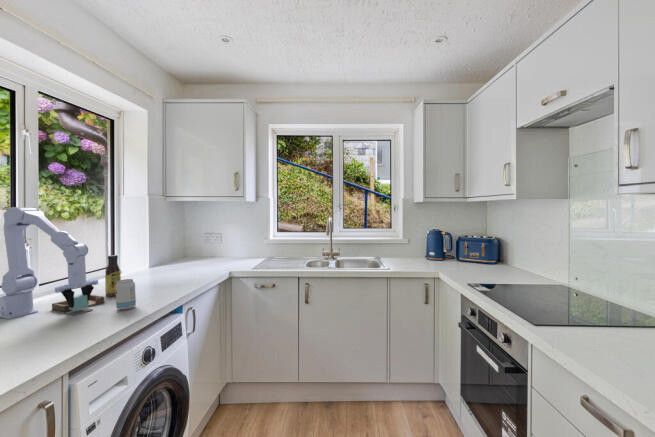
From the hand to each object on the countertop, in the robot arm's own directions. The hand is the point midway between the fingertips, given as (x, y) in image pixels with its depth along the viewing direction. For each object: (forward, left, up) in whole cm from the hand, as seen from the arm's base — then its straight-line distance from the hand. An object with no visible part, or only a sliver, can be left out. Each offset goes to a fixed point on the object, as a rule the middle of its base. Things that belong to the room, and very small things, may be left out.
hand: (78, 305), depth 127 cm
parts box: (+5, +9, -3) cm, 10 cm away
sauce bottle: (+22, +13, -3) cm, 26 cm away
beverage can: (+11, -15, -3) cm, 18 cm away
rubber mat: (0, 0, -3) cm, 3 cm away
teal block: (0, 0, -1) cm, 1 cm away
